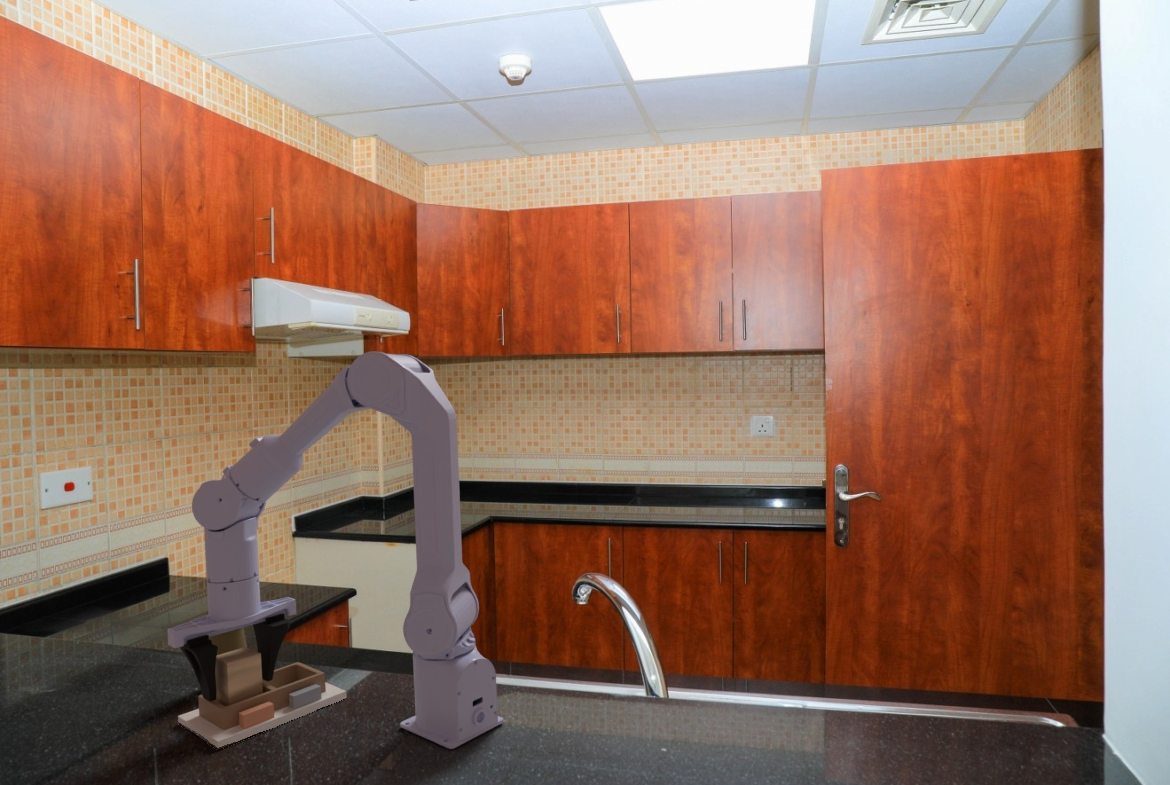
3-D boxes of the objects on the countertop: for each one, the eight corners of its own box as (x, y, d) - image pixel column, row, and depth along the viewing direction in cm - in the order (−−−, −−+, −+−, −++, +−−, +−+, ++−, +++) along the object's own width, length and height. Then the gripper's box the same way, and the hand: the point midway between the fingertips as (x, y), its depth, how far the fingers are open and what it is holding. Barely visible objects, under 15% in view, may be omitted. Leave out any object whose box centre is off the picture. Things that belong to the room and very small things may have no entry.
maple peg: (263, 710, 88) (260, 653, 88) (230, 723, 85) (227, 663, 85) (248, 702, 91) (245, 646, 91) (215, 714, 88) (212, 656, 88)
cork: (234, 696, 95) (230, 613, 95) (194, 694, 97) (190, 612, 97) (263, 678, 101) (259, 599, 101) (225, 676, 103) (221, 598, 102)
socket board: (346, 698, 93) (345, 672, 93) (218, 750, 81) (216, 720, 81) (302, 679, 100) (301, 654, 100) (178, 724, 88) (176, 696, 88)
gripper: (274, 560, 96) (279, 662, 96) (155, 586, 85) (160, 701, 85) (302, 567, 92) (307, 674, 92) (179, 595, 80) (185, 717, 81)
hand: (238, 688), depth 88 cm, fingers open, 6 cm apart
